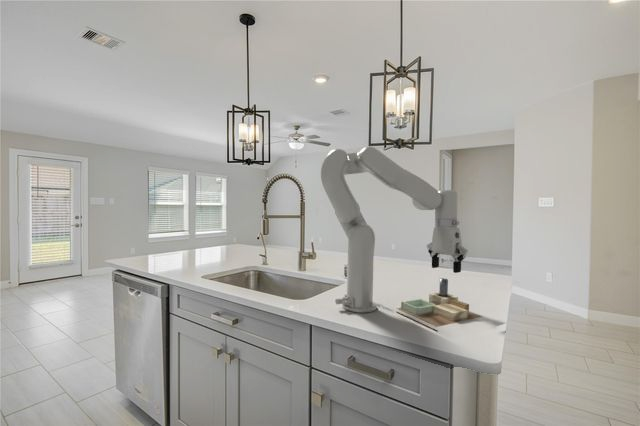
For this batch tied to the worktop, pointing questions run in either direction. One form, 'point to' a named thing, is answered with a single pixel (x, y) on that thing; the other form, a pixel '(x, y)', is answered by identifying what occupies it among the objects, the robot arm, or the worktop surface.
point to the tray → (417, 307)
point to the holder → (441, 299)
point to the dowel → (443, 287)
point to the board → (440, 320)
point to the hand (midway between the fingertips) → (445, 269)
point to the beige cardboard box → (450, 312)
